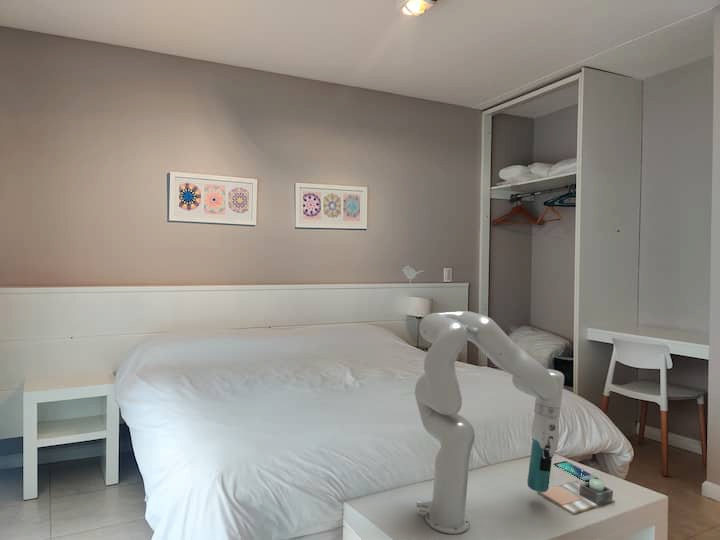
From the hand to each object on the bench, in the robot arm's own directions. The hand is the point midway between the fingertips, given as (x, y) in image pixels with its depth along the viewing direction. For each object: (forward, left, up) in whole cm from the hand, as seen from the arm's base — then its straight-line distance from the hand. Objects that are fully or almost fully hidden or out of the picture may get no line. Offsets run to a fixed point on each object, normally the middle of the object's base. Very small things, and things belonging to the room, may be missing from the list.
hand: (540, 464), depth 161 cm
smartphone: (+15, +30, -13) cm, 36 cm away
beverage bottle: (0, 0, -9) cm, 9 cm away
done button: (+19, +11, -10) cm, 24 cm away
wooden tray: (+13, +10, -13) cm, 20 cm away
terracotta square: (+7, +7, -13) cm, 16 cm away
